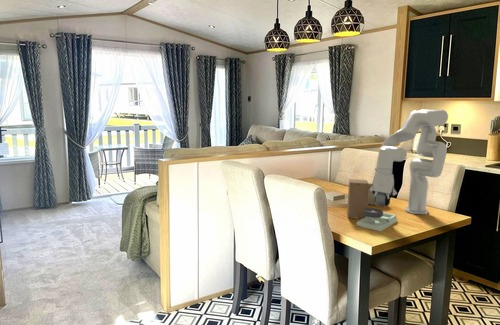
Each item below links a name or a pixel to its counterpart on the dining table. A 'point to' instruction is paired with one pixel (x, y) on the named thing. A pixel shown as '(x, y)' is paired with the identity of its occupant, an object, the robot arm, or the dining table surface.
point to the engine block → (381, 199)
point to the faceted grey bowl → (370, 213)
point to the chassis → (378, 222)
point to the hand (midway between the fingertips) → (382, 204)
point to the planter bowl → (371, 196)
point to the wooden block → (357, 198)
